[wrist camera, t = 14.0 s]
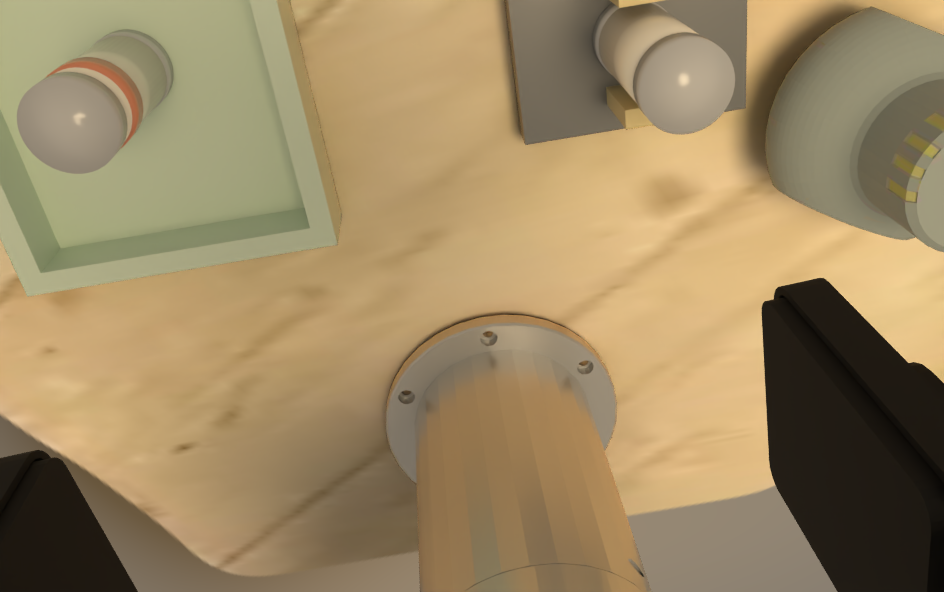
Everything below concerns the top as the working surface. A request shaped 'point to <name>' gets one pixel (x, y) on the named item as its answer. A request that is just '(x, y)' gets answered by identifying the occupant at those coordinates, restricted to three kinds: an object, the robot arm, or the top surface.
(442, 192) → the top surface
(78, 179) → the tray
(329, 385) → the top surface
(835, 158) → the air freshener
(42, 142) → the fuse marked
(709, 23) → the fuse block
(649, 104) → the fuse
